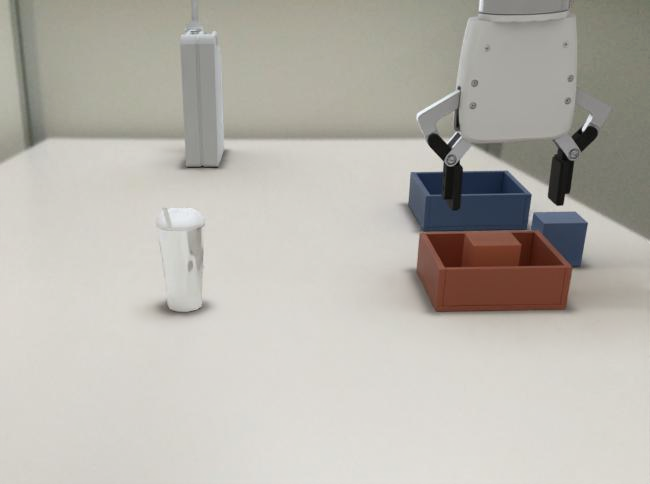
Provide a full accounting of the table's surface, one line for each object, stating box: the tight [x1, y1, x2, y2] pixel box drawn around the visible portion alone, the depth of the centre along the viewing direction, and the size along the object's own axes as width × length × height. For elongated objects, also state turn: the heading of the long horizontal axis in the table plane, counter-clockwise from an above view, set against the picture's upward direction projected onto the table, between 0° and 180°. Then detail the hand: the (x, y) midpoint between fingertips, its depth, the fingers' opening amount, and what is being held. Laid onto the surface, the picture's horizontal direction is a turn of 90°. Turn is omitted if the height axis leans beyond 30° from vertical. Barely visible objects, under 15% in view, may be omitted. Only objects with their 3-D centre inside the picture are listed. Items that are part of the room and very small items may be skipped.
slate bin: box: [407, 169, 533, 232], centre depth 117 cm, size 12×12×4 cm
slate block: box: [530, 210, 589, 267], centre depth 102 cm, size 4×4×4 cm
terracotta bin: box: [415, 230, 574, 312], centre depth 95 cm, size 12×12×4 cm
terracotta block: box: [461, 231, 521, 267], centre depth 94 cm, size 4×4×4 cm
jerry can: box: [179, 0, 225, 168], centre depth 143 cm, size 15×5×25 cm, turn 177°
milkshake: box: [155, 207, 206, 313], centre depth 90 cm, size 4×5×10 cm
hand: (504, 204), depth 92 cm, fingers open, 9 cm apart
